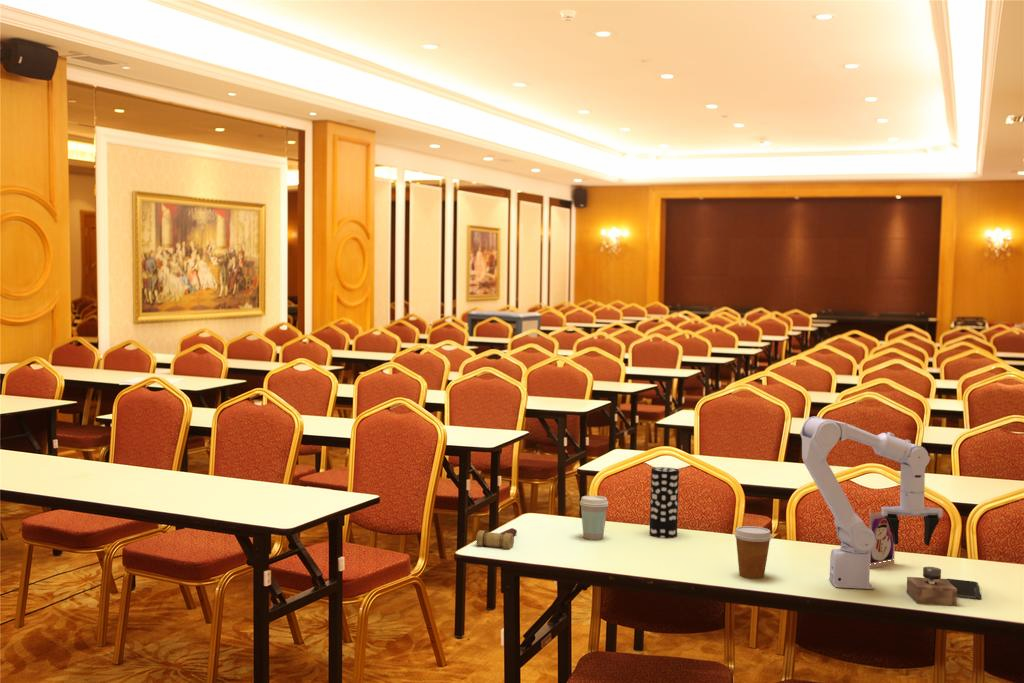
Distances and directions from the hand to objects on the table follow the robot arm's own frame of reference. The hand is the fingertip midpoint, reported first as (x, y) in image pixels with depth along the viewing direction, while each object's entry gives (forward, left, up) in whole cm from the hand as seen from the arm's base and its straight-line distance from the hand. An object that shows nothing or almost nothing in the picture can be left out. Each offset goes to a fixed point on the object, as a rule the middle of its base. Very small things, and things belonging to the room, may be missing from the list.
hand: (911, 544), depth 258 cm
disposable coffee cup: (-39, +1, -11) cm, 41 cm away
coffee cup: (-81, +35, -11) cm, 89 cm away
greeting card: (-4, +20, -11) cm, 23 cm away
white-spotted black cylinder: (-60, +43, -11) cm, 75 cm away
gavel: (-107, +26, -11) cm, 111 cm away
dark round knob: (+2, -13, -11) cm, 16 cm away
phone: (+12, -3, -11) cm, 17 cm away
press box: (+2, -13, -10) cm, 16 cm away
